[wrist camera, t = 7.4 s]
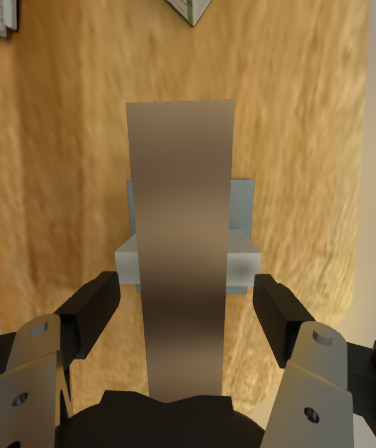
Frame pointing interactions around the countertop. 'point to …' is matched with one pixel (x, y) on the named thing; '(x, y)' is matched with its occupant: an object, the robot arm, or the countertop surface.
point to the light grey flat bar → (7, 16)
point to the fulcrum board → (234, 215)
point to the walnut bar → (182, 239)
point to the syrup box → (190, 8)
